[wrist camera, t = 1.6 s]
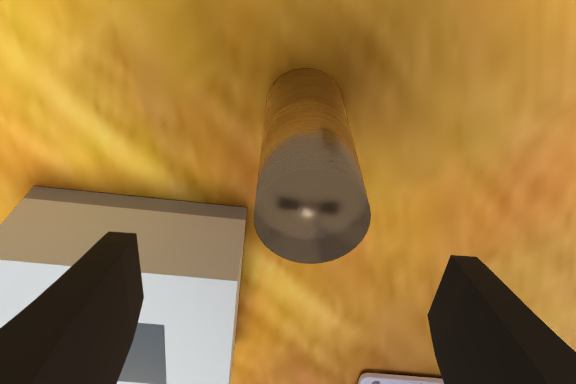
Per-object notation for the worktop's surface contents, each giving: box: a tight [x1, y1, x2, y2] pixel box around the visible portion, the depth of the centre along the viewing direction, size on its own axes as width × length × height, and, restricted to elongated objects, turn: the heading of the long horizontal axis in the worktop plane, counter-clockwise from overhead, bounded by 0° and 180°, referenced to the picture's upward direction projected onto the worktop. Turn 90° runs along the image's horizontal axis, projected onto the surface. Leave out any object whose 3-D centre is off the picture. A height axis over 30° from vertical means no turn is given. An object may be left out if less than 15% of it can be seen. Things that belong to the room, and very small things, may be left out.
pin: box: [254, 68, 371, 264], centre depth 16 cm, size 3×3×8 cm
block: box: [0, 186, 247, 384], centre depth 23 cm, size 10×10×5 cm
